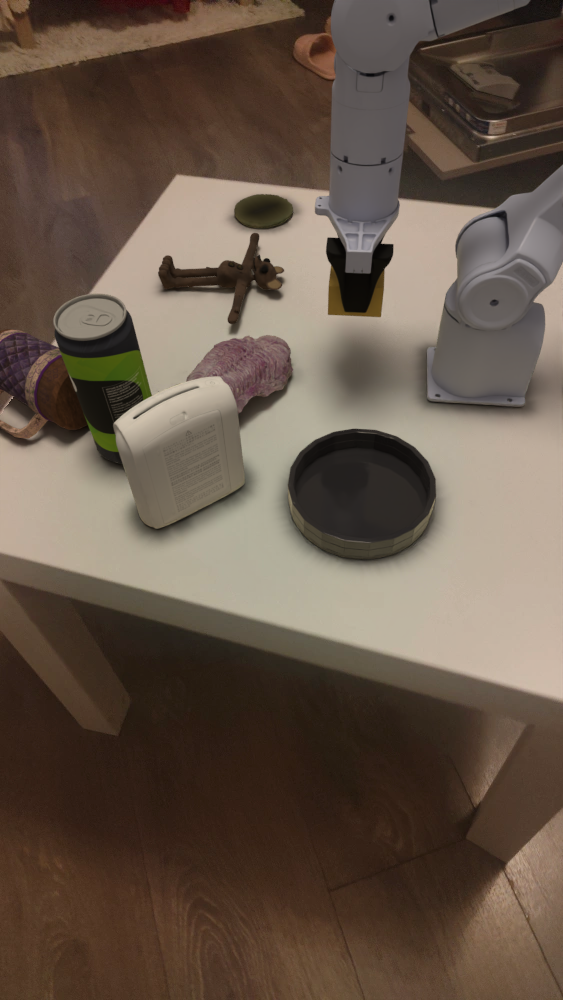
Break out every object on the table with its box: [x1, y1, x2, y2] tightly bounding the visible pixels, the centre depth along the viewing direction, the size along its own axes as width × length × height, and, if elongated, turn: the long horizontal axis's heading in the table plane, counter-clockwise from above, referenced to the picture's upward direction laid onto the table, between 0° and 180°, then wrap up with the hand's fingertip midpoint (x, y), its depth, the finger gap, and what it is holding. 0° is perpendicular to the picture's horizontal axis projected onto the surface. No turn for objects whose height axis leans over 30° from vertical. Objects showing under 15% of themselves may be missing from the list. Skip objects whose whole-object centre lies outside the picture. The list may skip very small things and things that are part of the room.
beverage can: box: [52, 292, 153, 465], centre depth 58 cm, size 6×6×15 cm
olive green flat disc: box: [233, 193, 294, 229], centre depth 89 cm, size 8×8×1 cm
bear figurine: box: [157, 232, 285, 325], centre depth 78 cm, size 18×4×14 cm
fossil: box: [185, 334, 294, 415], centre depth 66 cm, size 8×14×5 cm, turn 144°
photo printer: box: [113, 376, 246, 530], centre depth 55 cm, size 10×4×12 cm, turn 123°
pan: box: [287, 428, 437, 561], centre depth 58 cm, size 13×13×3 cm
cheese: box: [327, 264, 386, 318], centre depth 62 cm, size 5×3×3 cm
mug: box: [0, 328, 88, 439], centre depth 65 cm, size 10×7×12 cm
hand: (356, 297), depth 62 cm, fingers closed on cheese, 3 cm apart
